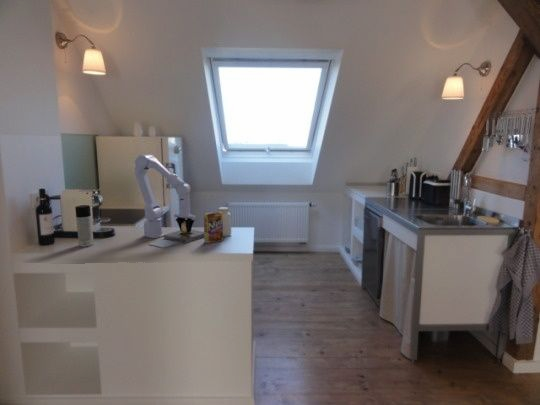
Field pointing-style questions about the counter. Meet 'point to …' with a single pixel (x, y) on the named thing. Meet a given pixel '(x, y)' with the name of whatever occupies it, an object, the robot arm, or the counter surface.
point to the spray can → (84, 225)
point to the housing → (185, 239)
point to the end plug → (184, 229)
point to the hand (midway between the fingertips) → (185, 231)
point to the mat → (164, 243)
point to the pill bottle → (226, 221)
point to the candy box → (213, 227)
